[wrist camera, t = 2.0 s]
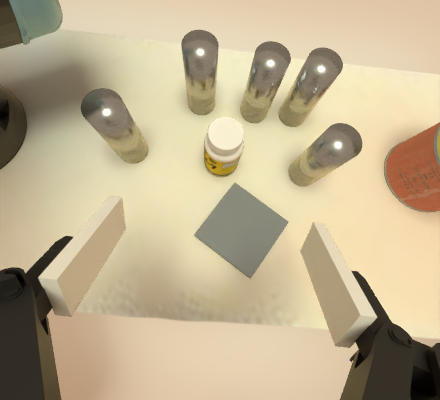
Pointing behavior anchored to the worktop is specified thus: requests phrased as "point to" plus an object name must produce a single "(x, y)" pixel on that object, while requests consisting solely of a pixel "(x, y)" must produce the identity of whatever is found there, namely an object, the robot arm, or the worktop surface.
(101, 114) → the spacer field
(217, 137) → the supplement bottle
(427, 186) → the canned food
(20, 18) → the robot arm
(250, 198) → the mat
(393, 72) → the worktop surface
